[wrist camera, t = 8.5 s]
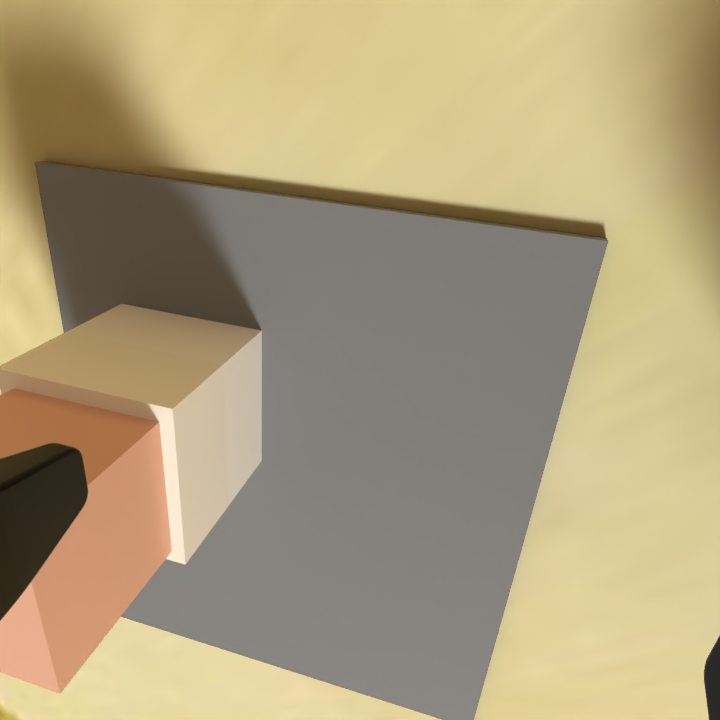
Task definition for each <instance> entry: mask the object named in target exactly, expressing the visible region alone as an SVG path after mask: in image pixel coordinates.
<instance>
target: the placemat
mask: <svg viewBox="0 0 720 720" xmlns="http://www.w3.org/2000/svg"><path fill="white" fill-rule="evenodd" d="M35 166H36V172H37V178H38V184H39V189H40V195H41V201H42V207H43V213H44V219H45V225H46V230H47V236H48V242H49V248H50V254H51V260H52V266H53V271H54V277H55V283H56V289H57V295H58V301H59V306H60V312H61V318H62V324H63V330H64V333H65V332H67V331H69V330H71V329H73V328H75V327H77V326H79V325H81V324H83V323H85V322H87V321H89V320H91V319H93V318H95V317H97V316H99V315H101V314H102V313H104V312H106V311H108V310H110V309H112V308H114V307H116V306H118V305H120V304H125V305H131V306H136V307H141V308H146V309H152V310H157V311H162V312H167V313H173V314H178V315H183V316H188V317H193V318H199V319H204V320H209V321H214V322H220V323H225V324H230V325H235V326H241V327H246V328H251V329H256V330H262V461H261V462H260V464H259V465H258V466H257V468H256V469H255V470H254V472H253V473H252V475H251V476H250V477H249V479H248V480H247V481H246V483H245V484H244V485H243V487H242V488H241V490H240V491H239V492H238V494H237V495H236V496H235V498H234V499H233V500H232V502H231V503H230V505H229V506H228V507H227V509H226V510H225V511H224V513H223V514H222V516H221V517H220V518H219V520H218V521H217V522H216V524H215V525H214V526H213V528H212V529H211V531H210V532H209V533H208V535H207V536H206V537H205V539H204V540H203V541H202V543H201V544H200V546H199V547H198V548H197V550H196V551H195V552H194V554H193V555H192V556H191V558H190V559H189V561H188V562H187V563H186V565H185V564H181V563H178V562H175V561H171V560H168V559H165V561H164V562H163V563H162V564H161V566H160V567H159V568H158V570H157V571H156V572H155V573H154V575H153V576H152V577H151V578H150V580H149V581H148V582H147V584H146V585H145V586H144V587H143V589H142V590H141V591H140V592H139V594H138V595H137V596H136V598H135V599H134V600H133V601H132V603H131V604H130V605H129V607H128V608H127V609H126V610H125V612H124V613H123V614H122V615H121V617H124V618H127V619H130V620H133V621H136V622H140V623H143V624H146V625H149V626H152V627H155V628H158V629H161V630H165V631H168V632H171V633H174V634H177V635H180V636H183V637H186V638H190V639H193V640H196V641H199V642H202V643H205V644H208V645H211V646H214V647H218V648H221V649H224V650H227V651H230V652H233V653H236V654H239V655H243V656H246V657H249V658H252V659H255V660H258V661H261V662H264V663H268V664H271V665H274V666H277V667H280V668H283V669H286V670H289V671H293V672H296V673H299V674H302V675H305V676H308V677H311V678H314V679H318V680H321V681H324V682H327V683H330V684H333V685H336V686H339V687H342V688H346V689H349V690H352V691H355V692H358V693H361V694H364V695H367V696H371V697H374V698H377V699H380V700H383V701H386V702H389V703H392V704H396V705H399V706H402V707H405V708H408V709H411V710H414V711H417V712H421V713H424V714H427V715H430V716H433V717H436V718H439V719H442V720H474V717H475V713H476V710H477V706H478V702H479V699H480V695H481V692H482V688H483V685H484V681H485V677H486V674H487V670H488V667H489V663H490V660H491V656H492V653H493V649H494V645H495V642H496V638H497V635H498V631H499V628H500V624H501V620H502V617H503V613H504V610H505V606H506V603H507V599H508V596H509V592H510V588H511V585H512V581H513V578H514V574H515V571H516V567H517V563H518V560H519V556H520V553H521V549H522V546H523V542H524V539H525V535H526V531H527V528H528V524H529V521H530V517H531V514H532V510H533V507H534V503H535V499H536V496H537V492H538V489H539V485H540V482H541V478H542V474H543V471H544V467H545V464H546V460H547V457H548V453H549V450H550V446H551V442H552V439H553V435H554V432H555V428H556V425H557V421H558V417H559V414H560V410H561V407H562V403H563V400H564V396H565V393H566V389H567V385H568V382H569V378H570V375H571V371H572V368H573V364H574V360H575V357H576V353H577V350H578V346H579V343H580V339H581V336H582V332H583V328H584V325H585V321H586V318H587V314H588V311H589V307H590V303H591V300H592V296H593V293H594V289H595V286H596V282H597V279H598V275H599V271H600V268H601V264H602V261H603V257H604V254H605V250H606V246H607V243H608V240H607V238H602V237H594V236H587V235H580V234H572V233H565V232H558V231H550V230H543V229H536V228H528V227H521V226H514V225H506V224H499V223H492V222H484V221H477V220H470V219H462V218H455V217H448V216H440V215H433V214H426V213H418V212H411V211H404V210H396V209H389V208H382V207H374V206H367V205H360V204H352V203H345V202H338V201H330V200H323V199H316V198H308V197H301V196H294V195H286V194H279V193H272V192H264V191H257V190H250V189H242V188H235V187H228V186H220V185H213V184H206V183H198V182H191V181H184V180H176V179H169V178H162V177H154V176H147V175H140V174H132V173H125V172H118V171H110V170H103V169H96V168H88V167H81V166H74V165H66V164H59V163H52V162H44V161H42V162H35Z"/></svg>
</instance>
